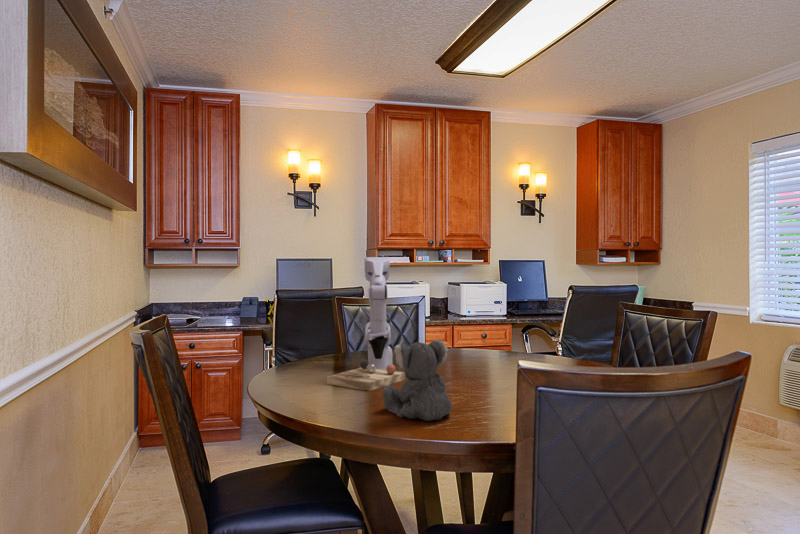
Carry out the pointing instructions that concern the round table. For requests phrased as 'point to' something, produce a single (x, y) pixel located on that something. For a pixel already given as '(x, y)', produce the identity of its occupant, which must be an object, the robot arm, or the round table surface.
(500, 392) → the round table surface
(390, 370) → the brick-red wooden ball
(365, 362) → the black rubber ball
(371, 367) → the steel ball
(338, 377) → the plate
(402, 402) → the koala plush
